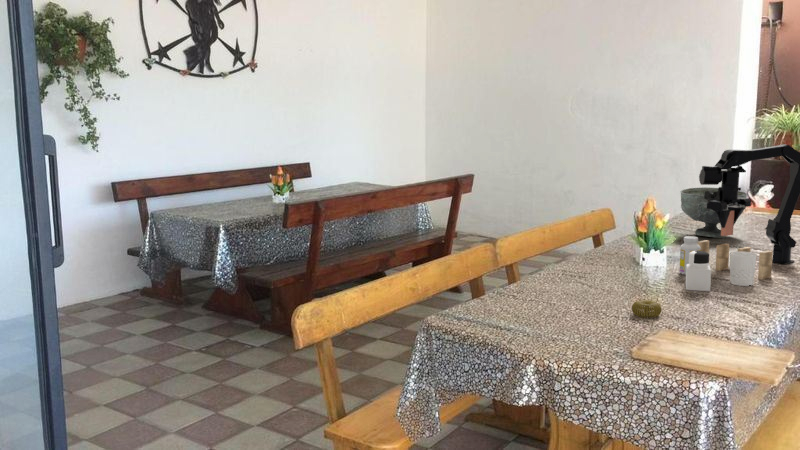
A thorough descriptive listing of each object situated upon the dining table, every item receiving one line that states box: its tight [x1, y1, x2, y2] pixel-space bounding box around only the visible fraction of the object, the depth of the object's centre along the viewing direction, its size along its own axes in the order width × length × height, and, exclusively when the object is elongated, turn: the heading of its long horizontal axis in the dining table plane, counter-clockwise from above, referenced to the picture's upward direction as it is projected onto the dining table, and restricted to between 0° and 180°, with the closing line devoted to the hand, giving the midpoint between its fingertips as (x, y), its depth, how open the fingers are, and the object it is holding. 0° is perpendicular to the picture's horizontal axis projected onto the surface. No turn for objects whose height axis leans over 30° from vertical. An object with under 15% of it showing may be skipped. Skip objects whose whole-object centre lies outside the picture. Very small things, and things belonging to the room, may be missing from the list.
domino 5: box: [757, 250, 773, 280], centre depth 249 cm, size 5×2×9 cm, turn 123°
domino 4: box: [736, 246, 752, 252], centre depth 255 cm, size 5×2×9 cm, turn 123°
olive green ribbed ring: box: [631, 299, 662, 319], centre depth 210 cm, size 8×4×8 cm
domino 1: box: [697, 239, 710, 254], centre depth 269 cm, size 5×2×9 cm, turn 123°
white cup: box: [729, 251, 758, 287], centre depth 242 cm, size 8×8×10 cm
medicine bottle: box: [685, 251, 712, 292], centre depth 237 cm, size 7×7×12 cm
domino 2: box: [720, 210, 735, 237], centre depth 271 cm, size 5×2×9 cm, turn 123°
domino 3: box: [715, 243, 730, 272], centre depth 262 cm, size 5×2×9 cm, turn 123°
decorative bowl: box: [680, 186, 748, 239], centre depth 323 cm, size 26×26×20 cm
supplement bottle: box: [679, 235, 701, 276], centre depth 257 cm, size 7×7×13 cm
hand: (727, 226), depth 271 cm, fingers closed on domino 2, 5 cm apart
